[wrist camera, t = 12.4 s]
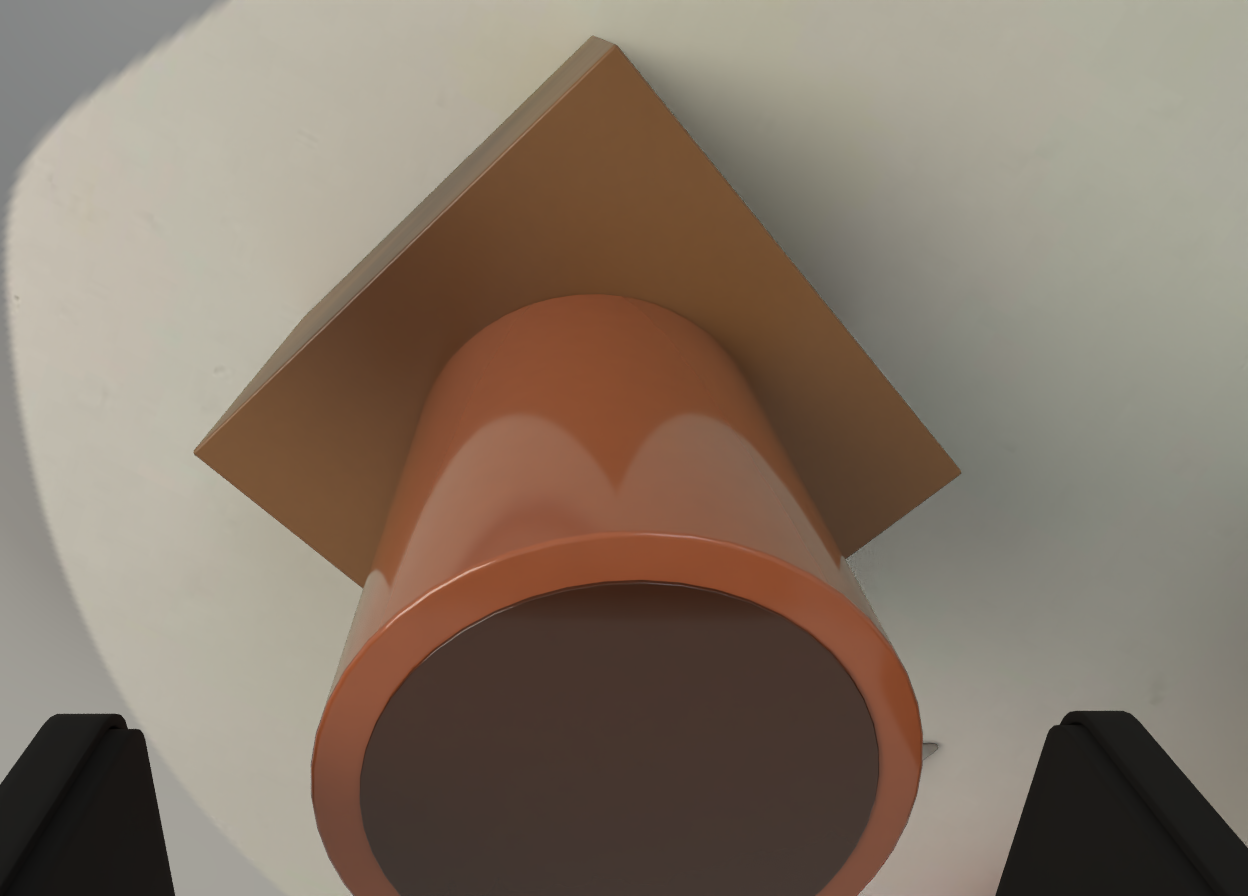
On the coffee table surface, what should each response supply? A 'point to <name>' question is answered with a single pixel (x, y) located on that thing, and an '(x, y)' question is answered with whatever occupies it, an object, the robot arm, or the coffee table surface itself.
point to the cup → (609, 640)
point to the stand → (557, 267)
